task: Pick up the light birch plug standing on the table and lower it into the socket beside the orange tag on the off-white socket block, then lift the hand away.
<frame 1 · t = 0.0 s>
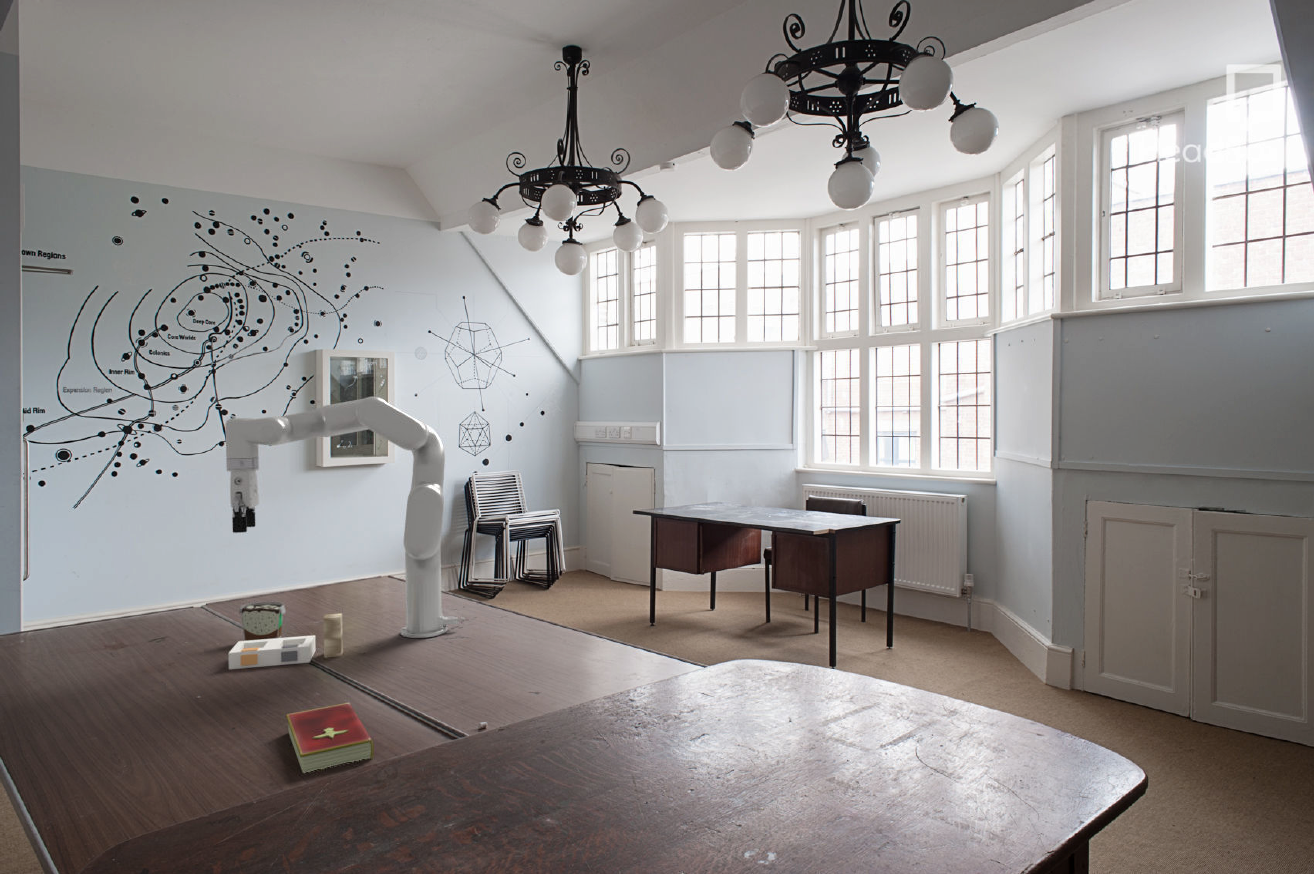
hand: (244, 529, 205), 31 cm above the table, tool pointing down, fingers open, 9 cm apart
socket block: (273, 659, 195), on the table
hardcover book: (328, 748, 145), on the table
plug: (333, 654, 199), on the table
food container: (267, 640, 212), on the table
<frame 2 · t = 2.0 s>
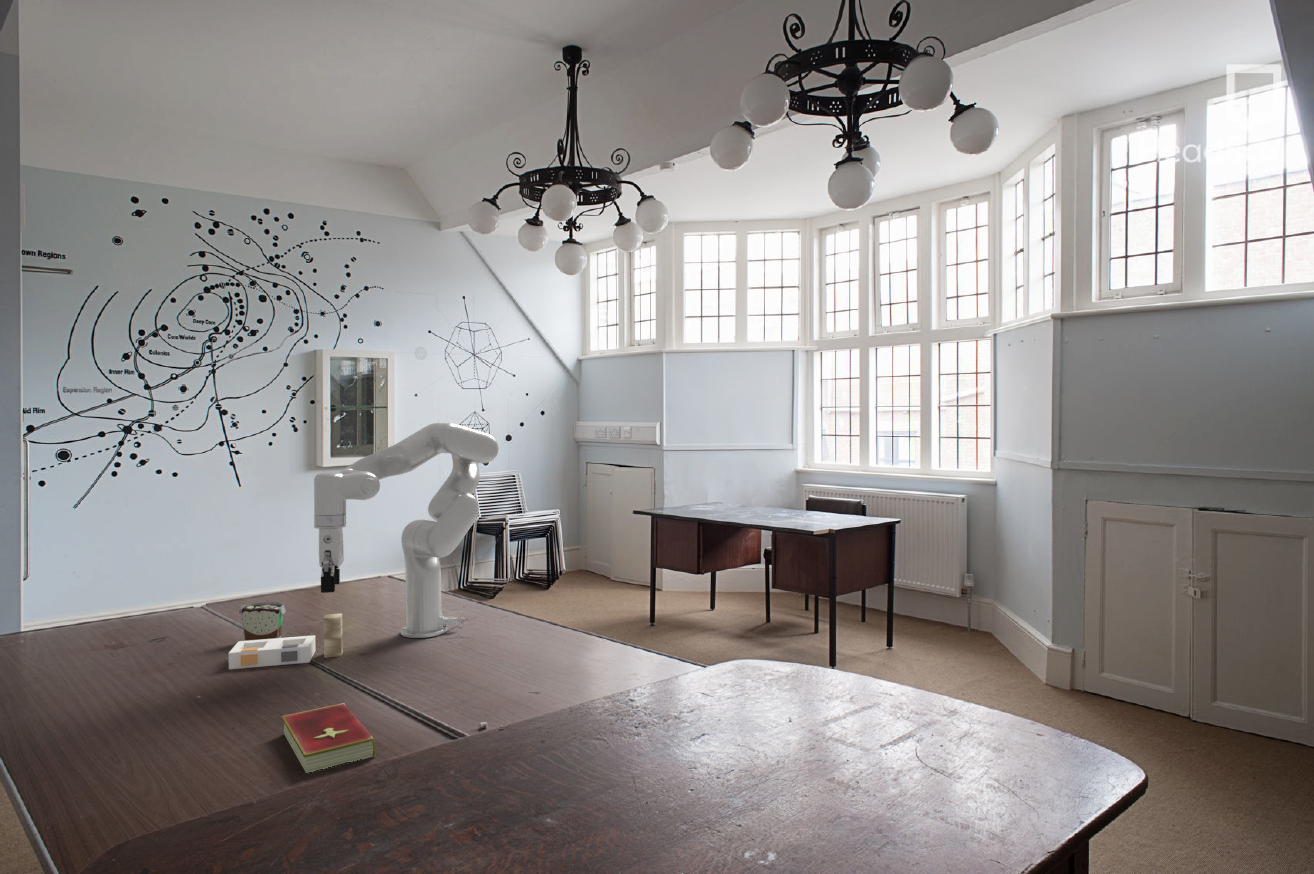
hand: (330, 588, 198), 17 cm above the table, tool pointing down, fingers open, 9 cm apart
nothing on the table moved.
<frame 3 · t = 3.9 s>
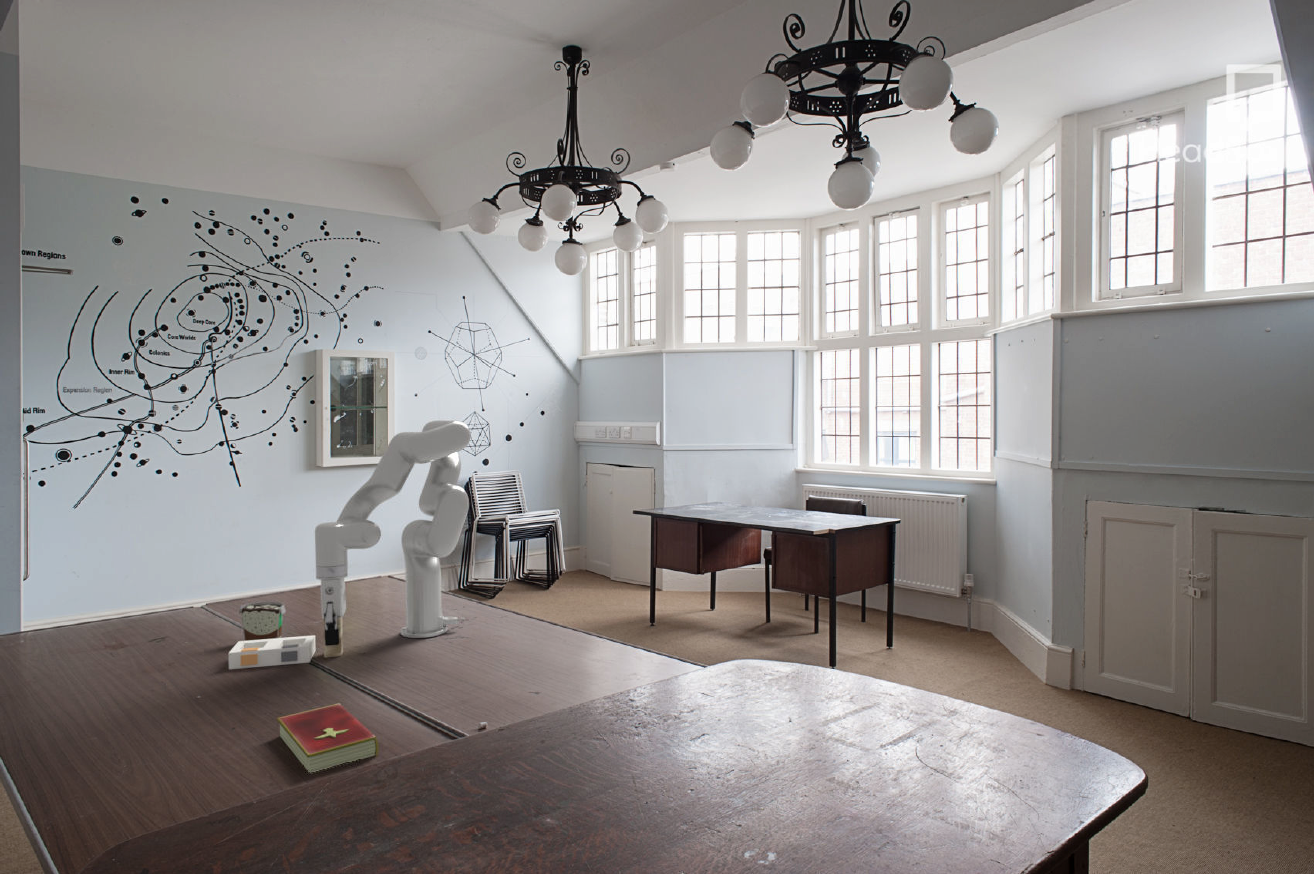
hand: (333, 641, 199), 3 cm above the table, tool pointing down, fingers closed on plug, 4 cm apart
plug: (333, 654, 199), on the table, touching gripper
everything else where it was.
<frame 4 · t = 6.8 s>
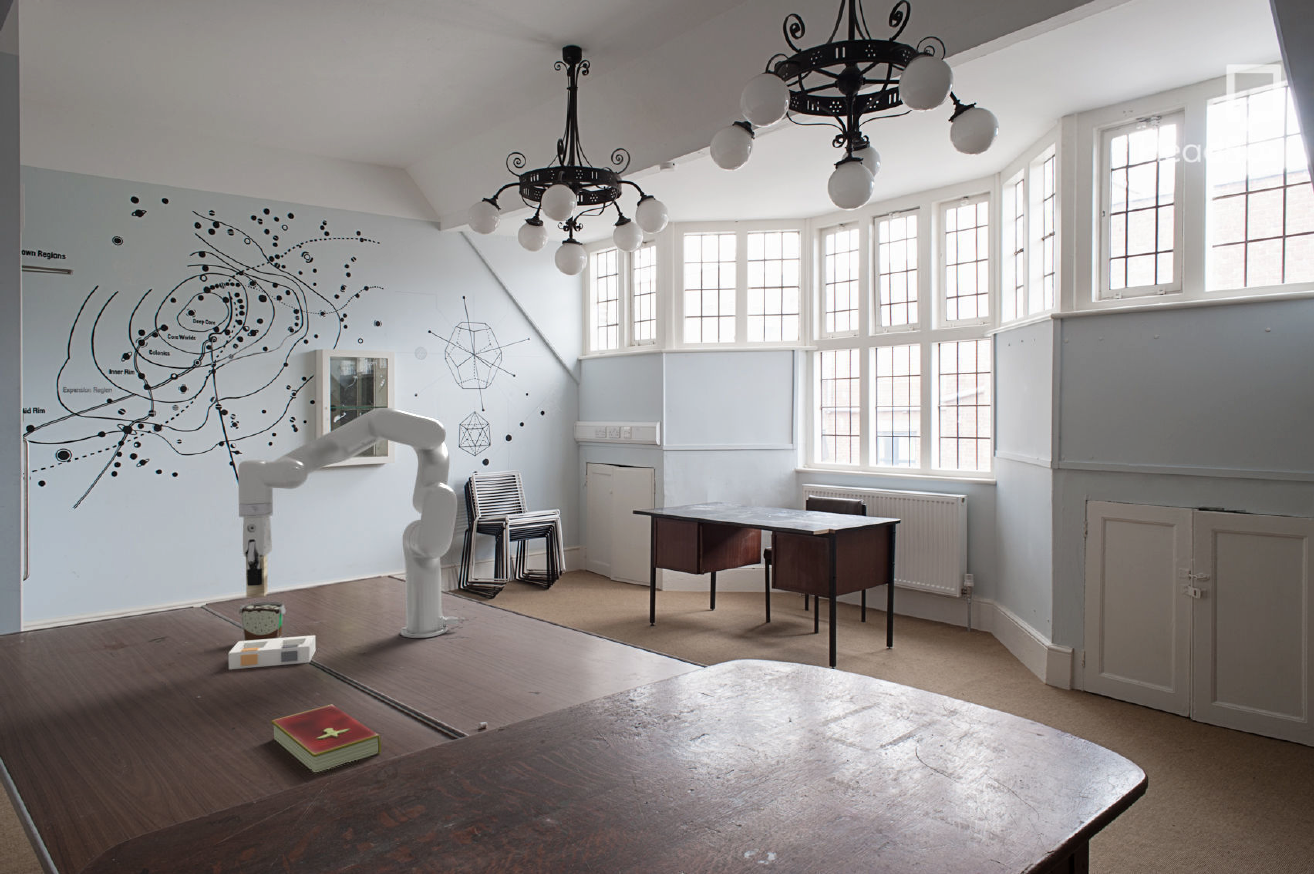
hand: (256, 582, 194), 20 cm above the table, tool pointing down, fingers closed on plug, 4 cm apart
plug: (257, 595, 194), point 16 cm above the table, touching gripper
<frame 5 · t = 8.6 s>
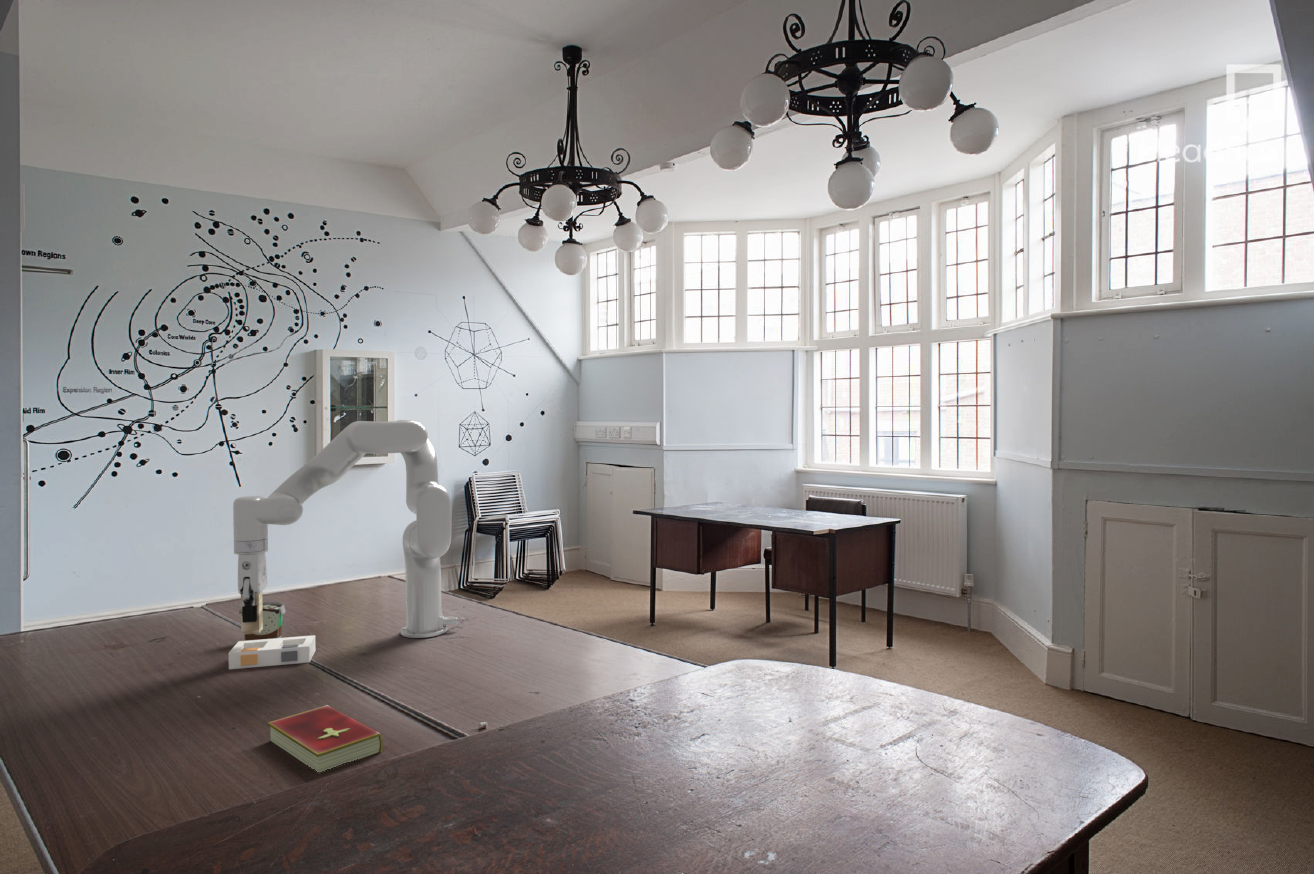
hand: (252, 618, 194), 11 cm above the table, tool pointing down, fingers closed on plug, 4 cm apart
plug: (252, 631, 194), point 7 cm above the table, touching gripper
when the fingers open (5 cm above the table, at t = 10.0 s): plug drops 2 cm, resting in socket block.
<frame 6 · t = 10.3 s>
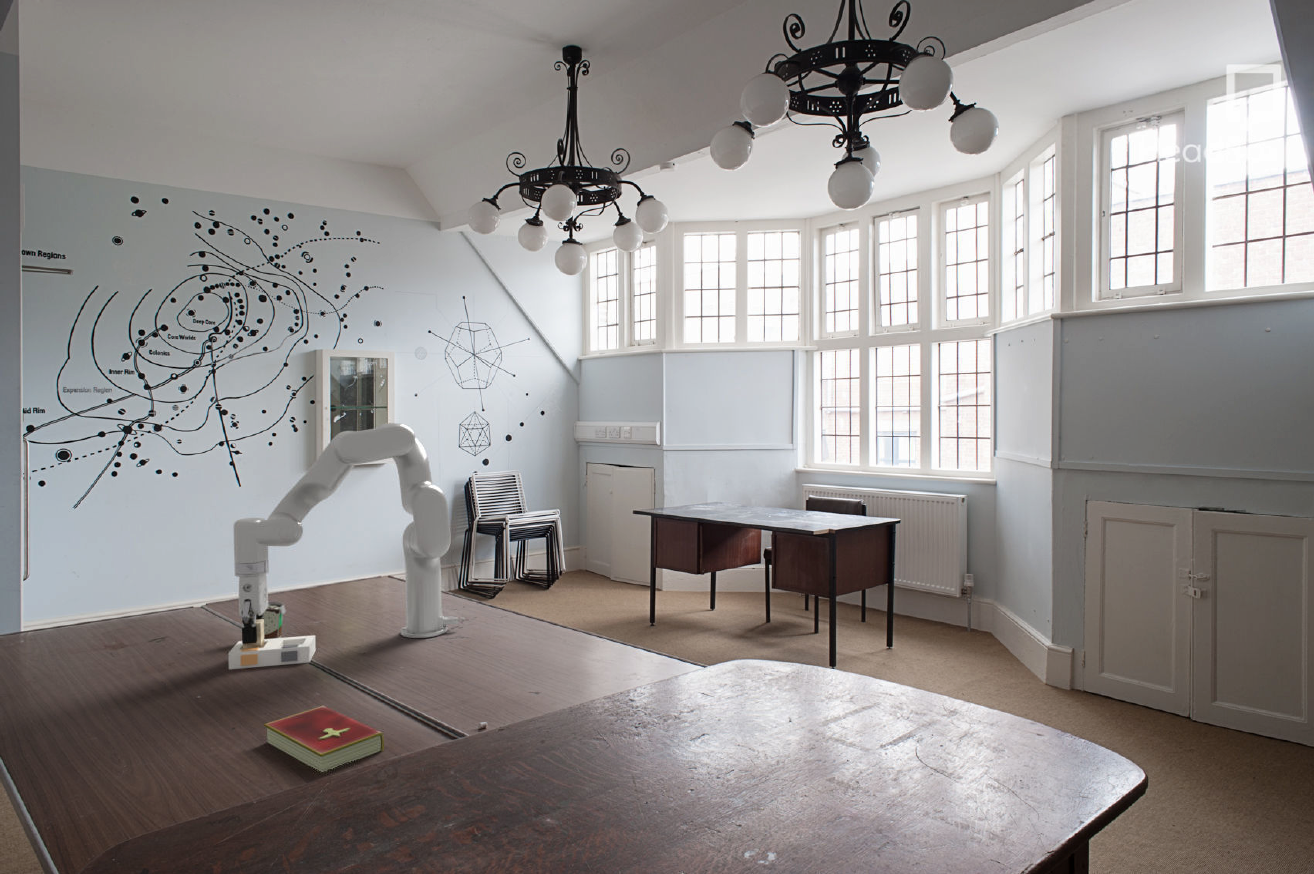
hand: (253, 637, 194), 6 cm above the table, tool pointing down, fingers open, 7 cm apart
plug: (254, 661, 194), resting in socket block
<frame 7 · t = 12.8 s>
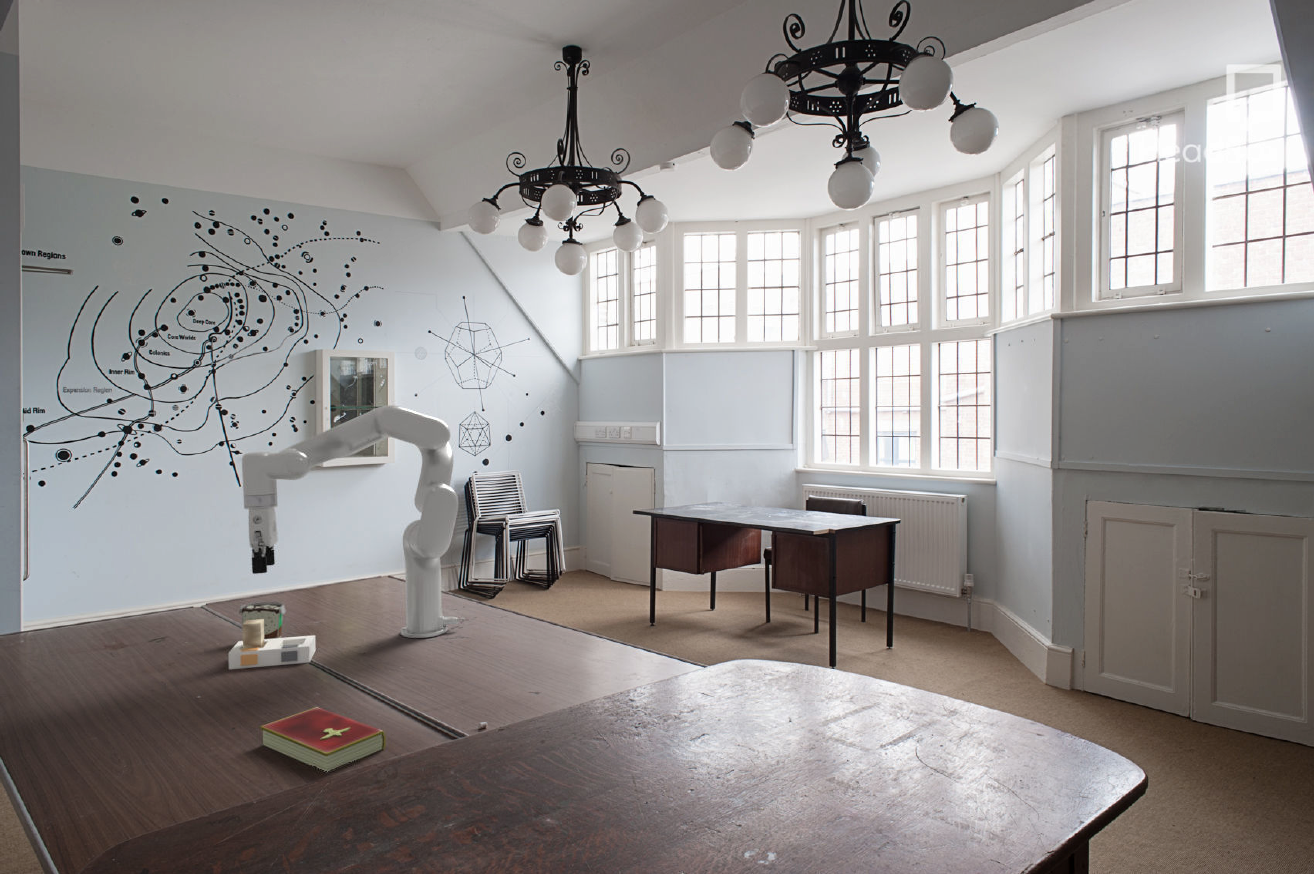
hand: (263, 569, 196), 23 cm above the table, tool pointing down, fingers open, 9 cm apart
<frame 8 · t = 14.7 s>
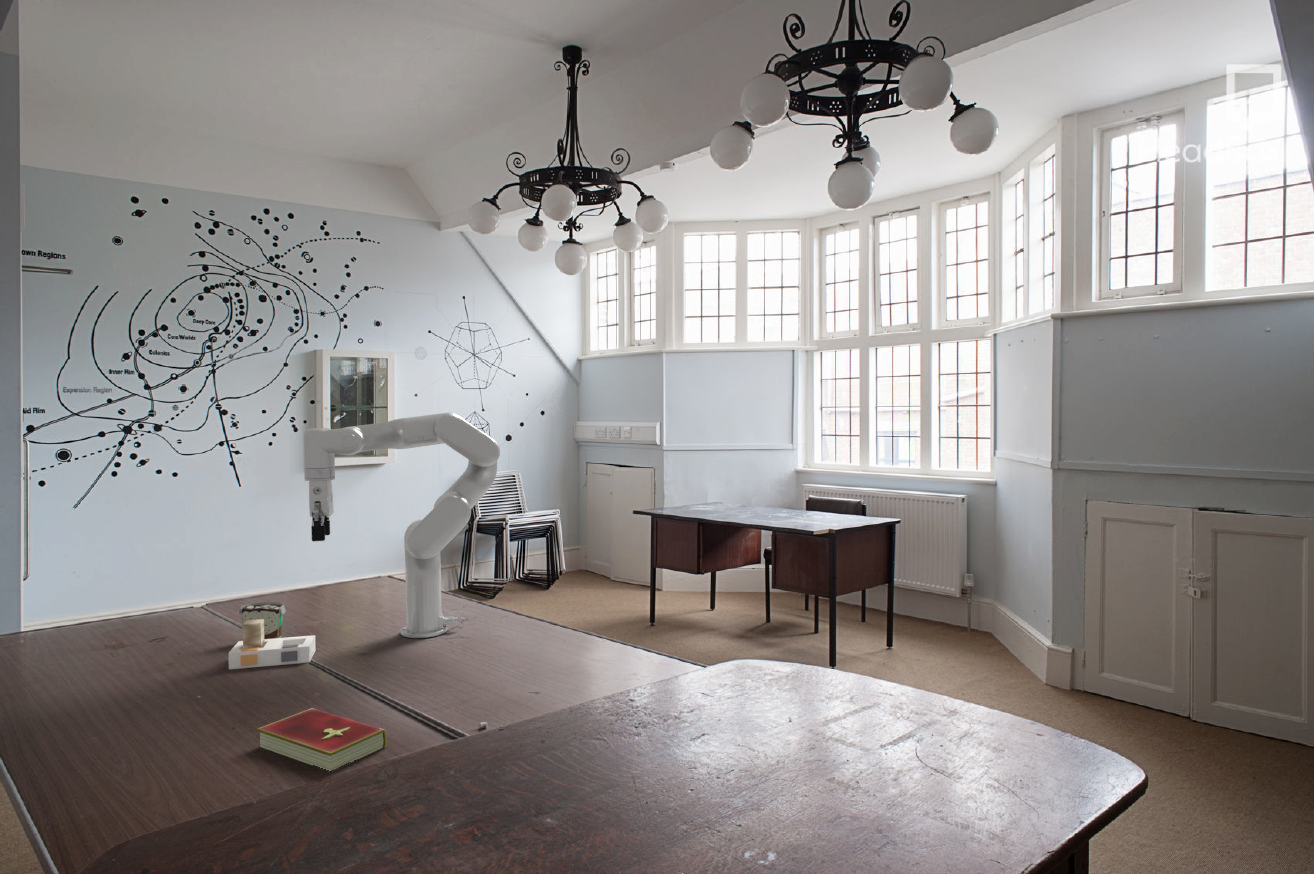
hand: (321, 537, 209), 28 cm above the table, tool pointing down, fingers open, 9 cm apart
at the end: plug 0.1 cm from the target spot on the socket block, point 0.0 cm above the socket block's base; plug tilted 0°; the gripper is holding nothing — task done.
